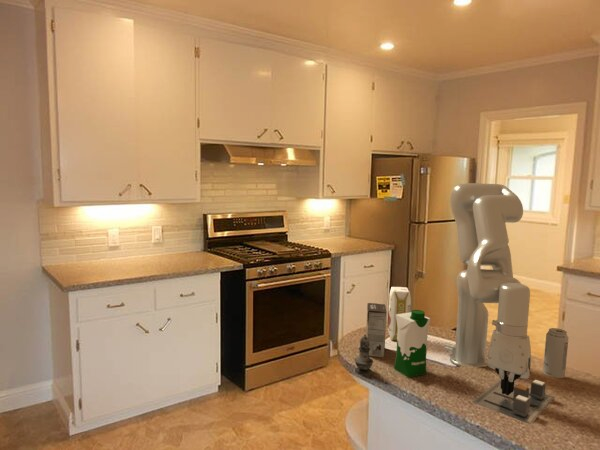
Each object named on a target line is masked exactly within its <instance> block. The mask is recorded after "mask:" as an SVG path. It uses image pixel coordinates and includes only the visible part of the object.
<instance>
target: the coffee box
mask: <svg viewBox="0 0 600 450" xmlns="http://www.w3.org/2000/svg"><path fill="white" fill-rule="evenodd" d="M366 308H367V311H366V331H365V332H366V333H365V335H366V337H367V338H369V348H370V350H369V357H379V358H384V357H385V350H386V349H385V347H386V331H387V330H386V329H387V307H386V304H385V303H383V304H382V303H376V302H375V303H374V302H373V303H372V302H367V307H366Z"/></svg>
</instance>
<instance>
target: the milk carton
mask: <svg viewBox="0 0 600 450" xmlns="http://www.w3.org/2000/svg"><path fill="white" fill-rule="evenodd" d="M425 314H426V312H425V311H424V310H420V309H413V310H410V313H403V314H396V319H397V326H398V334H397V340H396V355H395V362H394V370H395V371H397V372H399V373H401V374H402V375H404V376H406V377H407V378H412V377H413V378H414V377H418V376H421V375H427V347H428V346H427V345H428V335H429V334H428V331H429V327H430V324H431V320H432V319H431V318H430V317H428V316H425Z"/></svg>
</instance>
